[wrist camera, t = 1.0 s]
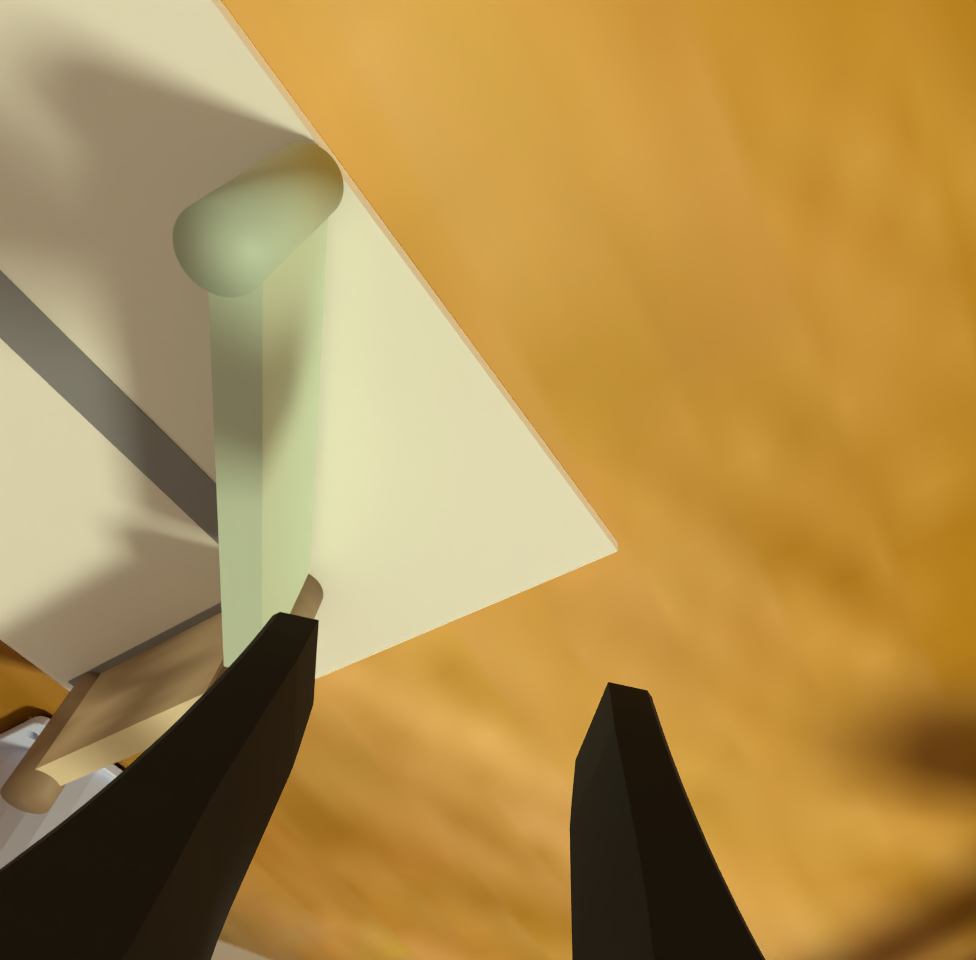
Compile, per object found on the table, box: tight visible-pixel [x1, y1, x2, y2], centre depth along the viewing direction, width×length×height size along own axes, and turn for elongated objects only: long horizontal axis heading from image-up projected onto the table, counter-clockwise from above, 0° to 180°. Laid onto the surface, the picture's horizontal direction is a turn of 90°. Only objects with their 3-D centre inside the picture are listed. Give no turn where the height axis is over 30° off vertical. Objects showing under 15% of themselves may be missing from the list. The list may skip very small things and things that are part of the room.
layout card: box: [0, 0, 618, 691], centre depth 22 cm, size 21×20×1 cm
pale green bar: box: [173, 142, 344, 668], centre depth 17 cm, size 12×2×5 cm, turn 170°
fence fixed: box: [0, 574, 323, 814], centre depth 24 cm, size 12×2×5 cm, turn 125°
